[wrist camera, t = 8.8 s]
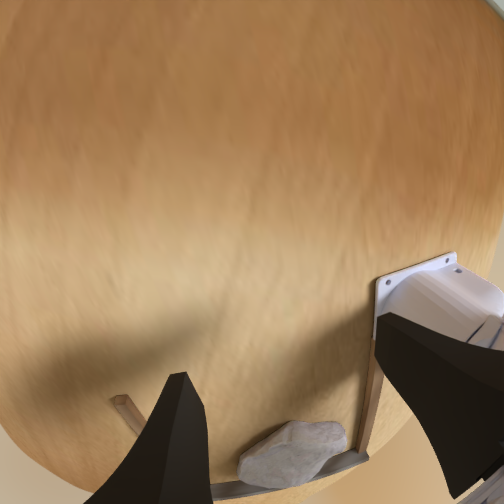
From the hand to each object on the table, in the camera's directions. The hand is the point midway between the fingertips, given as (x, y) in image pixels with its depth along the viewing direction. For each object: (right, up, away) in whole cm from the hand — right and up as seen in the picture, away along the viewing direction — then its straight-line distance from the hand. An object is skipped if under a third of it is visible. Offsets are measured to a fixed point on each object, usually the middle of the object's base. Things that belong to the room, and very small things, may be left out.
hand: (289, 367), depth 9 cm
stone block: (+2, -18, +18) cm, 26 cm away
